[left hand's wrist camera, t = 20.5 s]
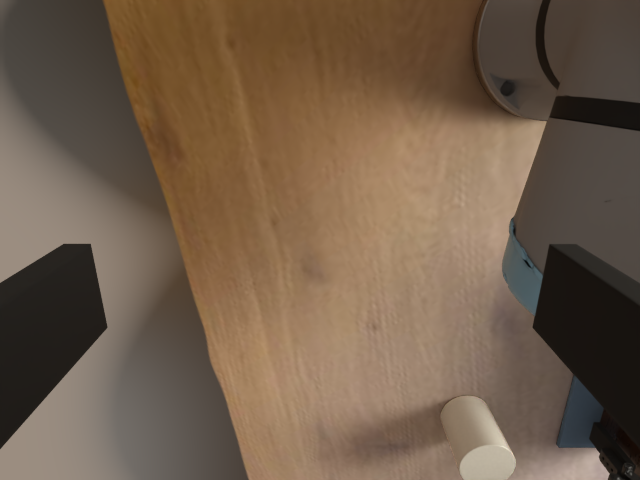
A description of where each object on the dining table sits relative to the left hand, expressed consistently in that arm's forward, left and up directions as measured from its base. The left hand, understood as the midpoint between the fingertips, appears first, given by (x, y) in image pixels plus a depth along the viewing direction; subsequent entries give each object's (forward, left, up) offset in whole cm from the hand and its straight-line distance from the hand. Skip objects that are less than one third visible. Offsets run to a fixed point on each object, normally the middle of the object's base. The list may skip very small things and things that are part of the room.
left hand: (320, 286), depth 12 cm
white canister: (+35, +19, -33) cm, 52 cm away
